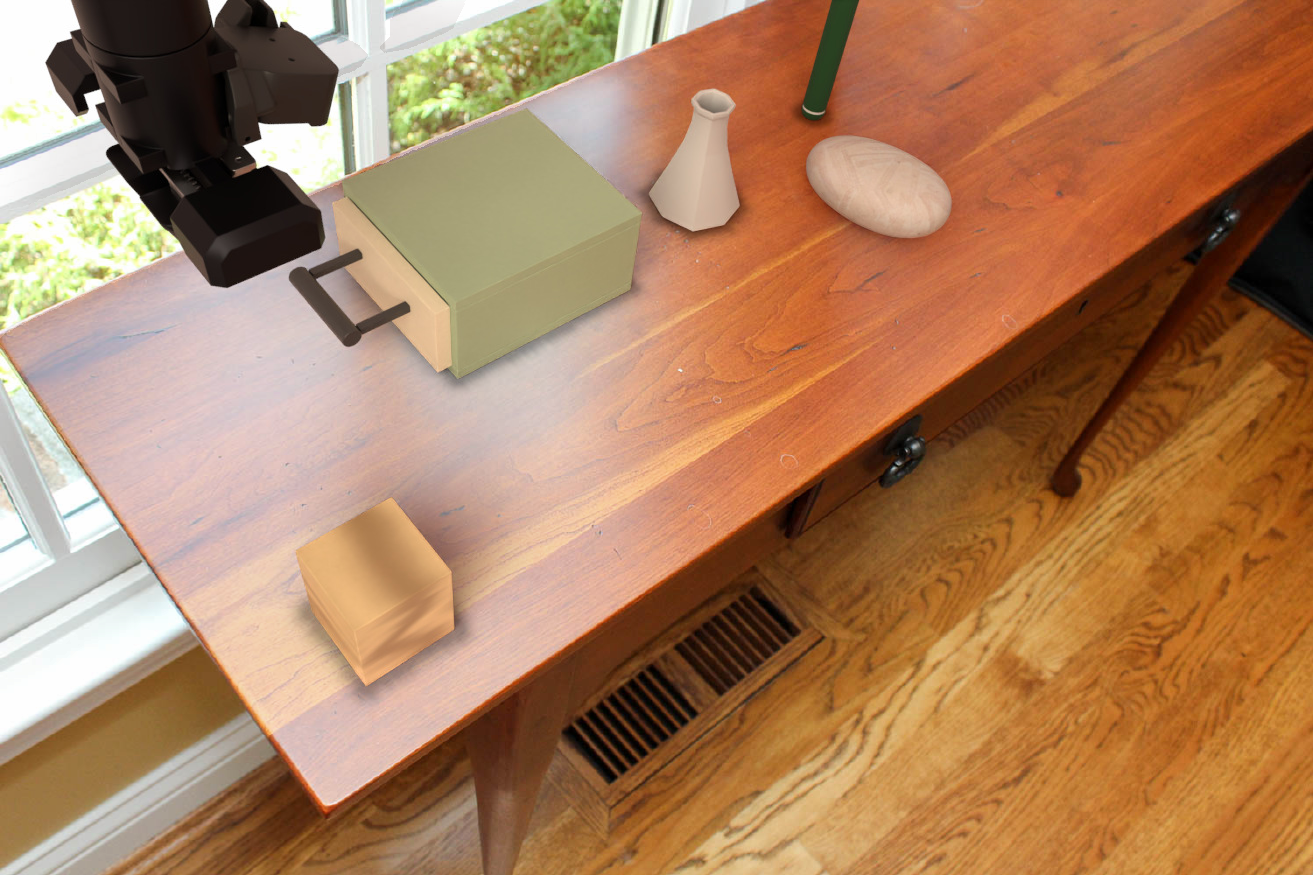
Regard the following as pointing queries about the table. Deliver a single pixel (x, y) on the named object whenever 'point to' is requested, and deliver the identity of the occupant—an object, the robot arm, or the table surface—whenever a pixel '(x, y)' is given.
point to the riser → (378, 589)
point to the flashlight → (828, 57)
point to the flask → (700, 169)
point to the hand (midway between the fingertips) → (214, 262)
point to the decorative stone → (878, 186)
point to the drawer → (378, 289)
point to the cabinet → (504, 232)
